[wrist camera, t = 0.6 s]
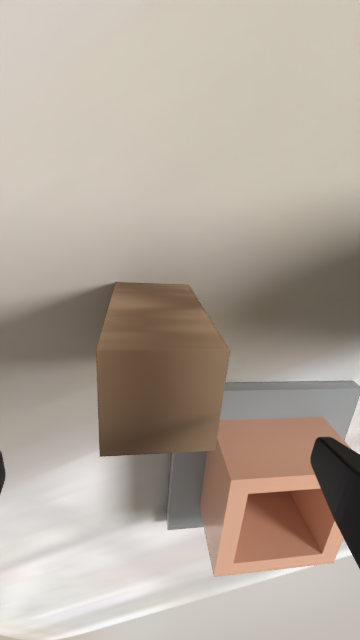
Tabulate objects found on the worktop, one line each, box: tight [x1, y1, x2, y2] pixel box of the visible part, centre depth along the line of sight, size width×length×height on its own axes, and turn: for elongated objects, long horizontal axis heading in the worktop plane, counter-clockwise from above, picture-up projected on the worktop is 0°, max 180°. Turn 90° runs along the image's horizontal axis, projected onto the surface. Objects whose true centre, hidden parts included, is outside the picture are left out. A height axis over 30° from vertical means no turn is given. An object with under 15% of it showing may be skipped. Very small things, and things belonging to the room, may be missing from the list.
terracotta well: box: [167, 381, 360, 577], centre depth 22 cm, size 14×14×6 cm
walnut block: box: [96, 282, 230, 456], centre depth 15 cm, size 4×4×9 cm
